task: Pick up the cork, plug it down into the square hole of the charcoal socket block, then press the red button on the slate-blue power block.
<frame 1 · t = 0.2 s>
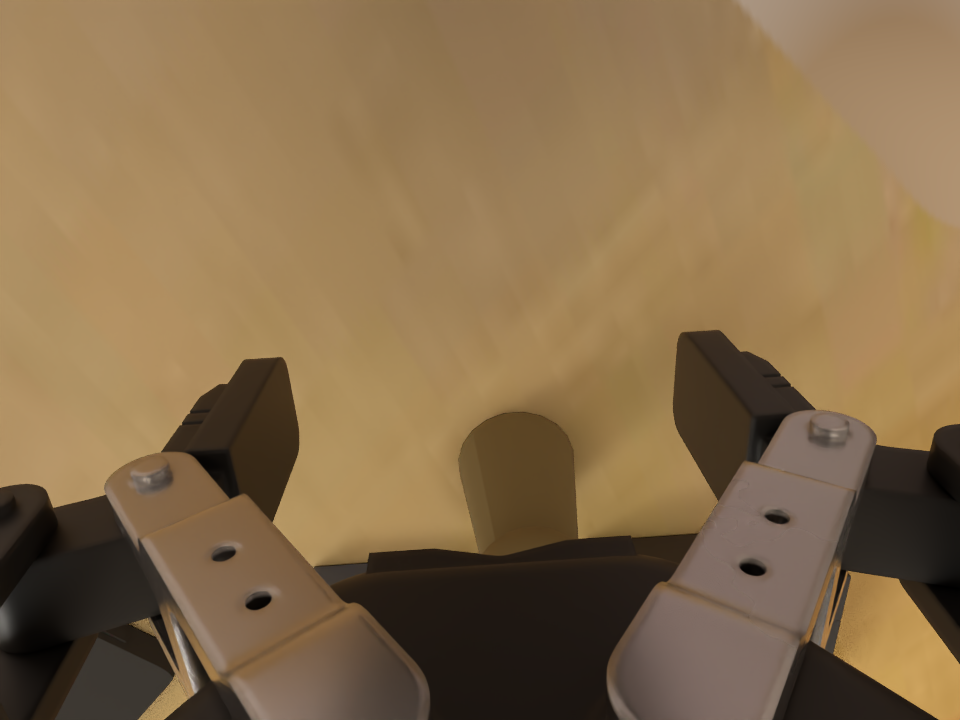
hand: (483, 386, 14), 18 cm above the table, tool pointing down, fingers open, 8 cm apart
socket: (689, 620, 41), on the table
power block: (405, 639, 41), on the table
cork: (516, 460, 36), on the table
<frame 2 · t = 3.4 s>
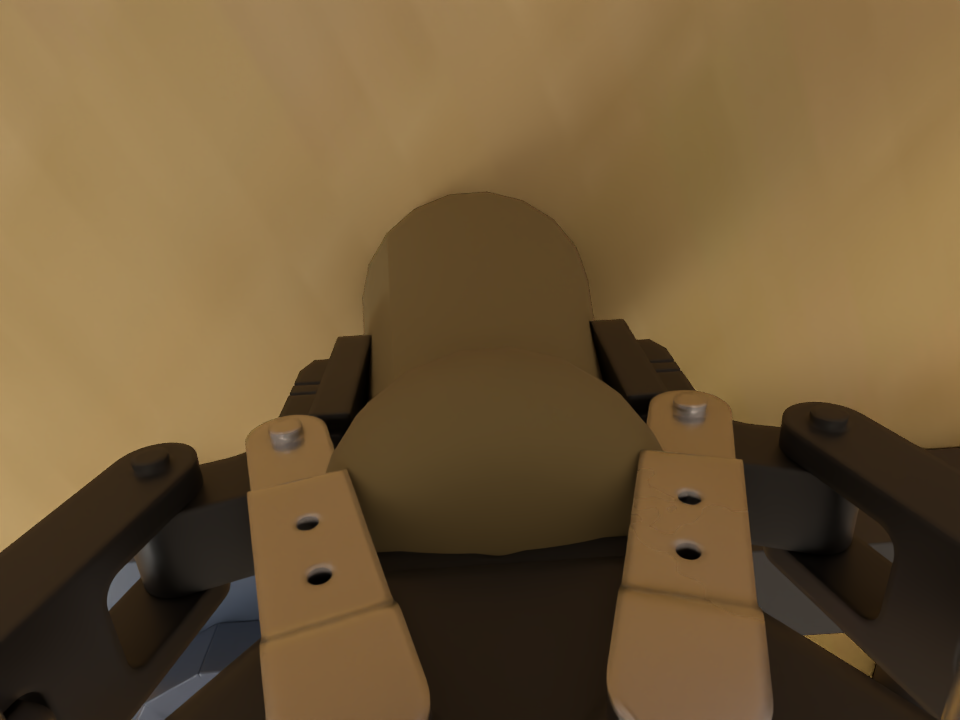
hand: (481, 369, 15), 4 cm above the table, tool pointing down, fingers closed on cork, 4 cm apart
socket: (787, 617, 24), on the table
power block: (290, 650, 23), on the table
cork: (476, 303, 19), on the table, touching gripper
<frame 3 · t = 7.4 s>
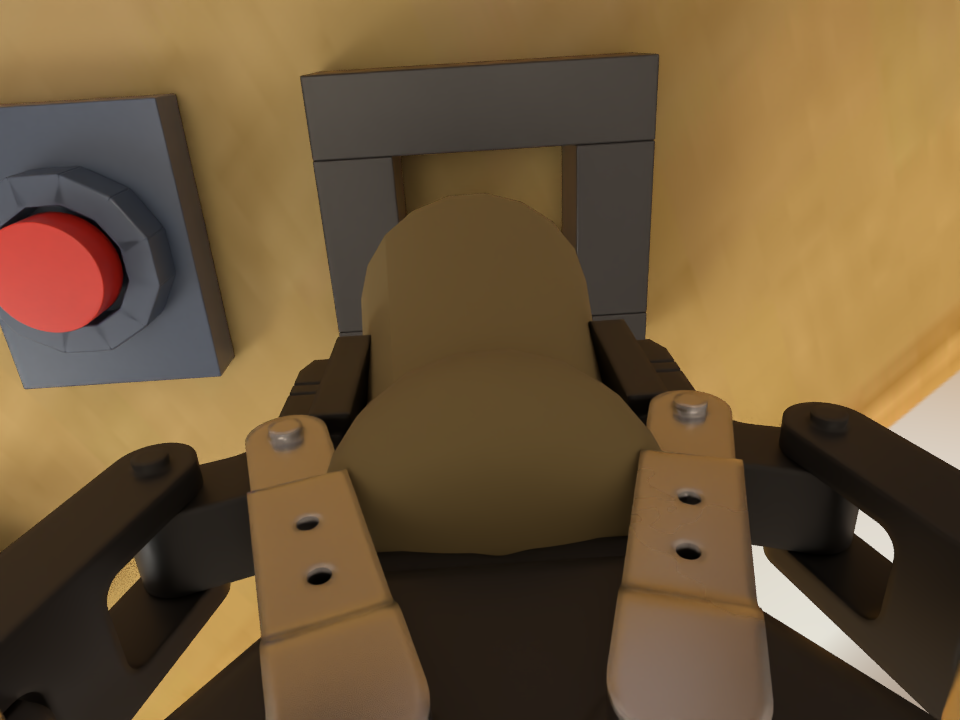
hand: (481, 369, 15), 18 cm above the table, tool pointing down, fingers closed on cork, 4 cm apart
power button: (55, 272, 27), point 4 cm above the table, slide at 0.1 cm
socket: (484, 218, 31), on the table
power block: (107, 242, 31), on the table
cork: (474, 304, 19), point 13 cm above the table, touching gripper
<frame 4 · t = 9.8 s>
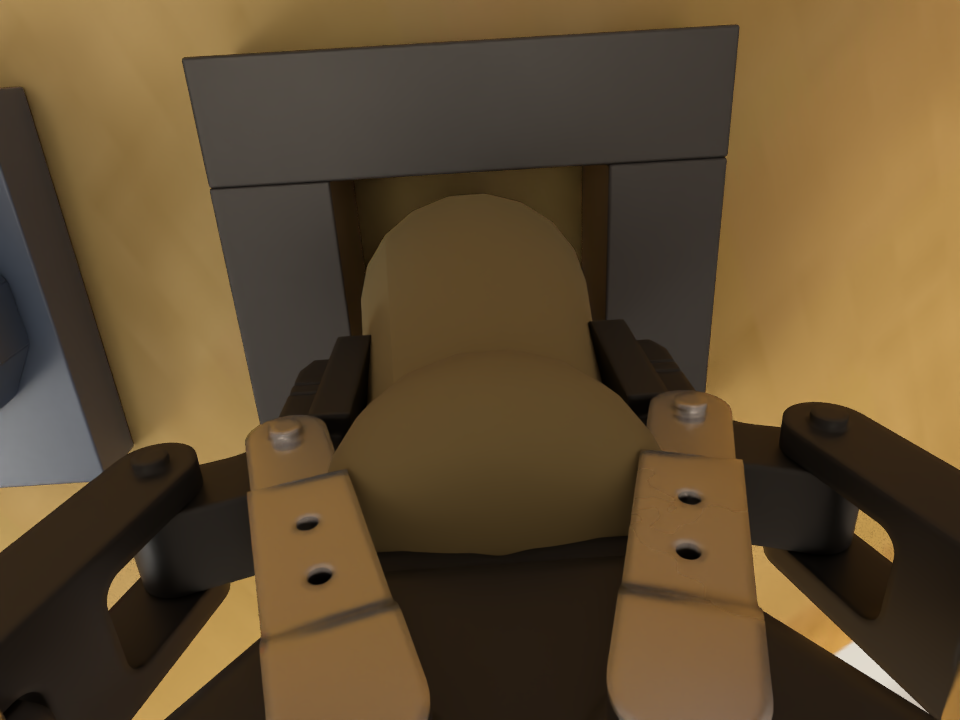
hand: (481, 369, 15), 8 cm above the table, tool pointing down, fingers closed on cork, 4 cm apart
socket: (473, 262, 22), on the table
cork: (474, 304, 19), point 4 cm above the table, touching gripper
when the fingers open (4 cm above the table, at t = 11.8 s): cork stays where it is, resting in socket.
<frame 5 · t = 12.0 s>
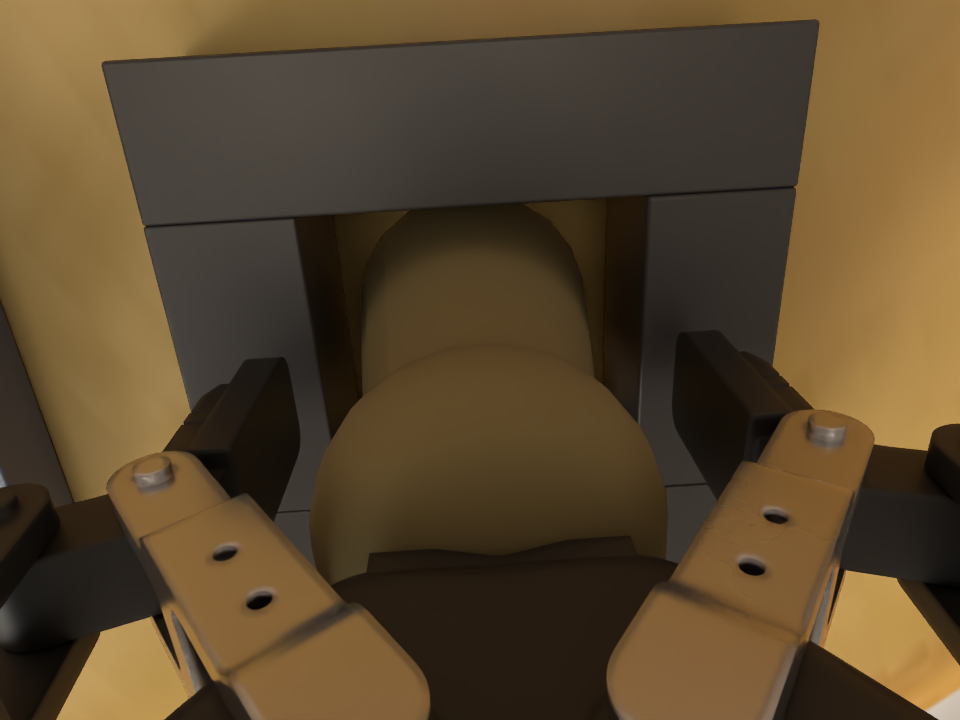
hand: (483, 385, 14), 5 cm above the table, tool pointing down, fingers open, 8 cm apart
socket: (475, 304, 19), on the table
cork: (472, 302, 19), resting in socket
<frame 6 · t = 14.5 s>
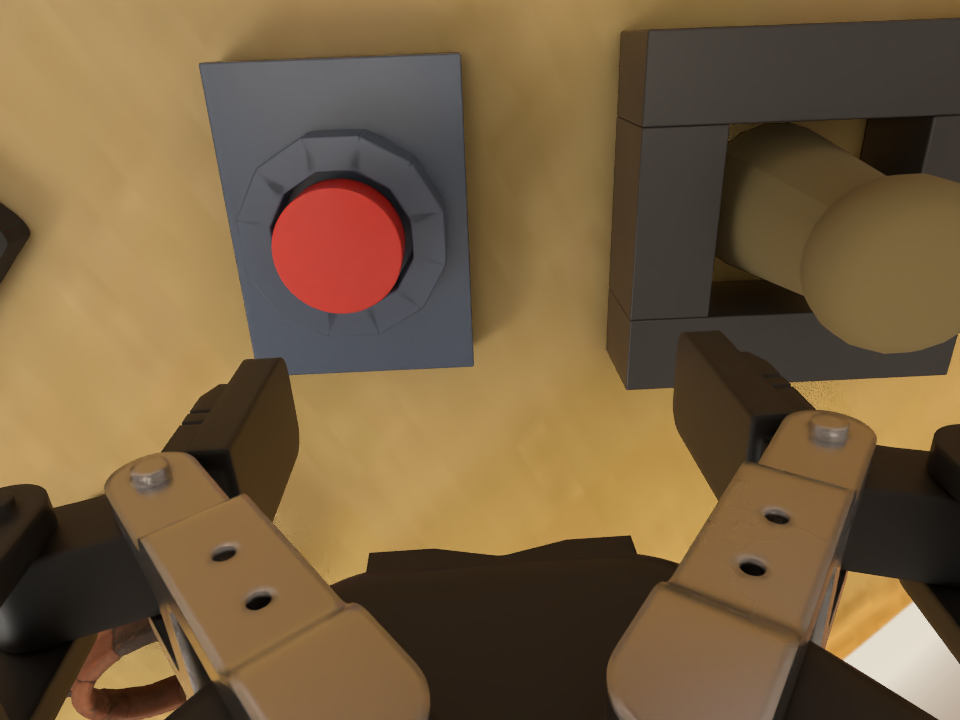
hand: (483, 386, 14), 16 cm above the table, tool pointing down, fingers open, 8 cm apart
brown looped piece: (144, 571, 36), on the table
power button: (340, 246, 24), point 4 cm above the table, slide at 0.1 cm
socket: (768, 199, 28), on the table
power block: (356, 216, 28), on the table
cork: (765, 198, 29), resting in socket
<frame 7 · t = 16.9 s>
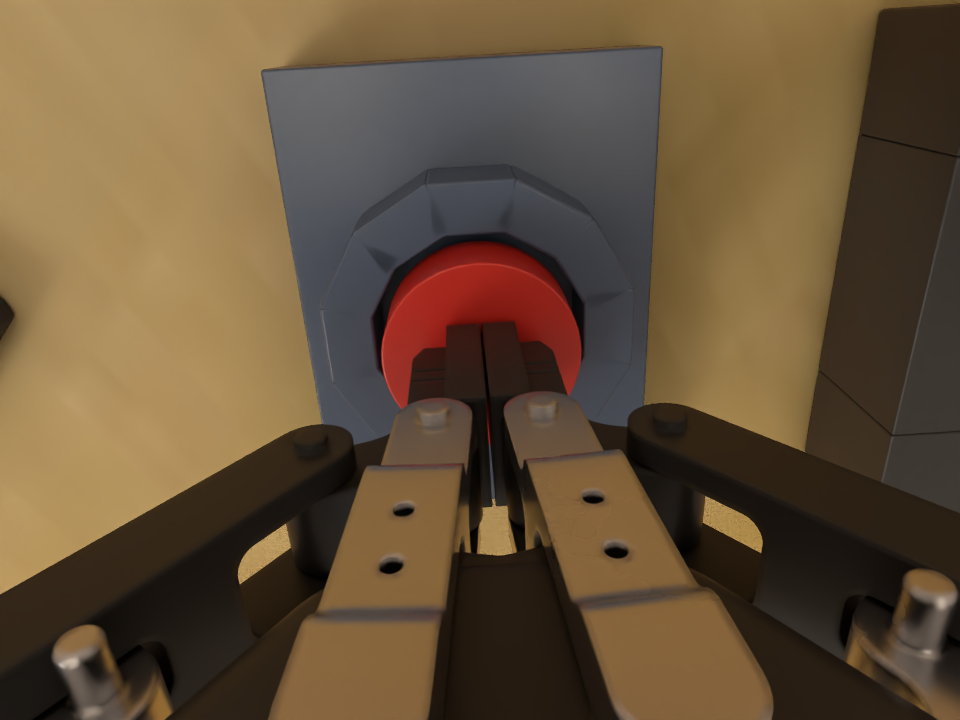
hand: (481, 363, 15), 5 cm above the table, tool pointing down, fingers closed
power button: (480, 343, 16), point 4 cm above the table, slide at 0.0 cm, touching gripper
power block: (474, 283, 20), on the table
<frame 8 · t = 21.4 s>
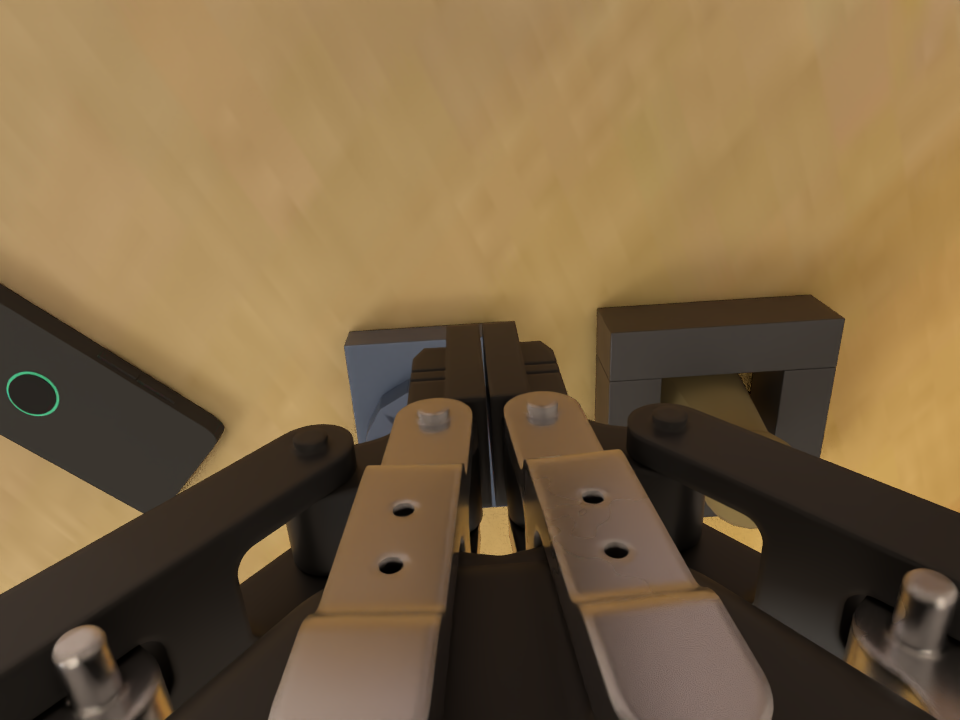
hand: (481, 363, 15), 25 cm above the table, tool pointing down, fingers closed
socket: (695, 396, 44), on the table
power block: (431, 413, 44), on the table
smart home device: (52, 379, 42), on the table
cork: (693, 395, 44), resting in socket
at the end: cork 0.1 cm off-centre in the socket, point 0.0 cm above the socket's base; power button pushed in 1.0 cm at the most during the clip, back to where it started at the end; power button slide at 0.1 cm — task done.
